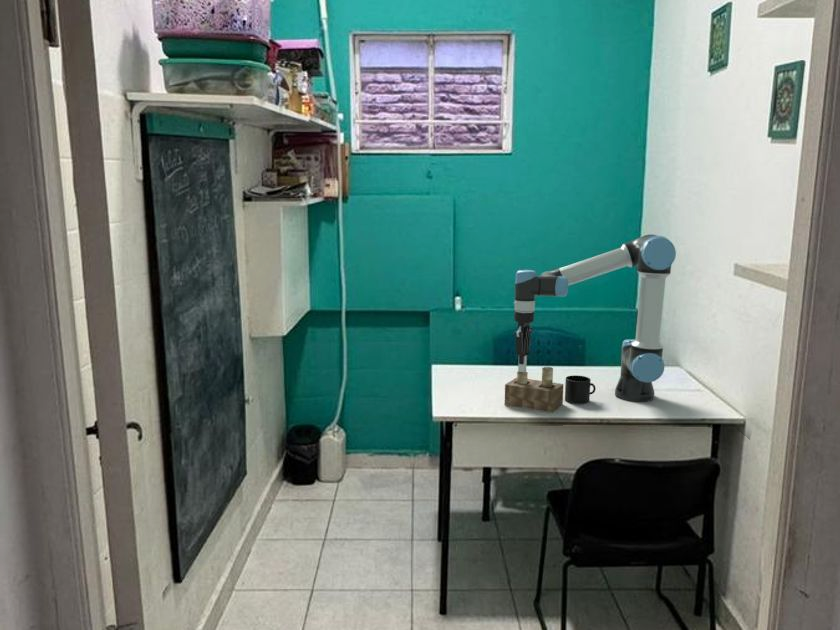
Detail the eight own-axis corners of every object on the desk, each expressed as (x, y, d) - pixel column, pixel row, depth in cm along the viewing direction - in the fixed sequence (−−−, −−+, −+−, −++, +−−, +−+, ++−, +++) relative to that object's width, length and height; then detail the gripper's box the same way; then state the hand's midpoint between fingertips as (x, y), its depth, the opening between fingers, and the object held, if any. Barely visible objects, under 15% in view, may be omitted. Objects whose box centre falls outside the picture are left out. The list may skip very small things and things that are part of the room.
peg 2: (553, 388, 263) (554, 367, 262) (550, 390, 260) (551, 369, 258) (543, 386, 265) (544, 366, 264) (539, 389, 262) (540, 368, 260)
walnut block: (562, 404, 267) (563, 384, 265) (552, 412, 256) (553, 391, 255) (516, 396, 276) (516, 377, 274) (504, 404, 265) (505, 384, 264)
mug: (599, 403, 268) (600, 381, 266) (569, 404, 266) (570, 382, 264) (590, 396, 277) (591, 374, 275) (561, 397, 275) (562, 375, 274)
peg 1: (528, 392, 269) (529, 371, 267) (524, 394, 265) (525, 374, 264) (518, 390, 270) (519, 370, 269) (514, 393, 267) (515, 372, 266)
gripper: (521, 307, 270) (519, 366, 274) (508, 312, 258) (506, 374, 263) (539, 309, 266) (537, 369, 270) (527, 314, 255) (525, 376, 259)
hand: (522, 371), depth 266 cm, fingers closed
